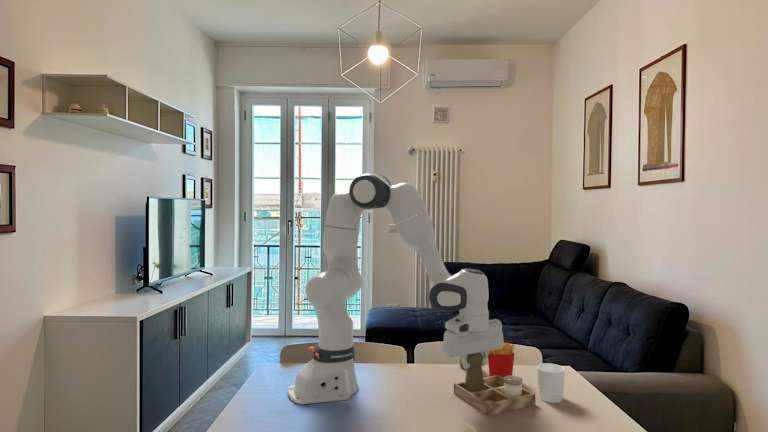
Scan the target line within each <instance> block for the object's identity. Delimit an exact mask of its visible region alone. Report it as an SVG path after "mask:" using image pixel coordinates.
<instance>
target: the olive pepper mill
mask: <svg viewBox="0 0 768 432" xmlns="http://www.w3.org/2000/svg"><path fill="white" fill-rule="evenodd" d="M466 360H467V362H468V363H470V368H469V369H466V372H465V373H466V374H465V381H464V382H465V389H467V390H469V391H482V390H484V389H485V387H484V379H483V378H484V373H483V366H482V365H481V363H482V361H483V355H482V353H481V352H480V353H475V354H469V355H467V358H466Z"/></svg>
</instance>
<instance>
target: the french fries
mask: <svg viewBox="0 0 768 432" xmlns="http://www.w3.org/2000/svg"><path fill="white" fill-rule="evenodd" d="M514 347H515V344H510V342H504V346H503V348H502V349H498V350H492V351H489V355H488V357H487V363H488V371H489V373H488V374H489V377H490V376H496V375H499V376H501V377H503V378H504V377H505V376H510V375H512V376H513V373H514V372H513V371H514V362H515V353H514V350H515V349H514Z"/></svg>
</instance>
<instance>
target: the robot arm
mask: <svg viewBox="0 0 768 432" xmlns="http://www.w3.org/2000/svg"><path fill="white" fill-rule="evenodd" d="M348 190H349V191H338V192H335V193H334V194H333V195H332V196H331V197H330V199H329V203H328V205H327V209H326V215H325V220H324V221H325V222H324V229H323V238H322V251H323V253H324V254H325V257H326V264H327V269H326V270H324V271H321V272H318V273H317V274H315V275H314V276H312V277H311V278H310V279H309V280H308V281H307V283H306V286H305V295H306V296H305V297H306V299H307V301H308V302H309V303H310V304H311V305H312V307H313V308H314V312H315V315H316V318H317V324H318V345H317V346H316V347H314V346H309V348H308V349H307V350H308V352H309V353H310V354H312V359H310V361H308V362H307V363H306V364H305V365H303V366H302V367H301V368H300V369H299V370H298V371H297V372H296V375H295V379H294V384H292V385H290V386H289V387H288V388H287V396H288V397H289V399H290V400H291V401H292V402H293V403H296V404H298V405H307V404H318V403H327V402H328V403H329V402H337V401H347V400H349V399H350V398H351V396H353V395H354V394H355V393H357V392H358V390H359V384H358V380H357V375H356V371H355V370H356V369H355V359H356V349H355V344H354V322H353V319H352V317H350V315H349V312H348V309H347V300H349V299H352V298H353V297H354V296H355V295H357V294H358V293H359V291H360V290H361V288H362V286H363V277H362V273H361V272H360V271H359V264H358V263H359V262H358V245H359V234H360V226H361V225H360V224H361V217H362V214H363V212H364V211H365V210H374V209H382V208H384V209H386V210H387V211H388V213H389V215H390V216H391V219H392V222H393V223H394V225H395V228H396V231H398V232H397V233H398V234H399V235H400V237H401V239H402V240H403V242H404V243H405V245H407V246H408V247H410V248H412V249H413V250H414V252H416V254H418V256H419V258H420V260H421V263H422V264H423V267H424V270H425V271H426V273H427V276H428V279H429V292H428V301H429V303H430V305H431V307H432V308H433V309H435V310H436V311H438V312H441V313H449V312H457V311H459V314H458V315H456V316H454V317H453V318H451V319H449V320H447V321H445V323H444V327H445V329H447V330H445V331H444V333H443V340H442V341H443V342H442V350H443V353H444V355H445V356H448V357H449V358H456V357H459V356H460V358H461V360H462V362H463V368H462V369H465V370H467V369H469V368H470V363H468V362H467V360H466V358H467V355H469V354H475V353H482V355H483V361H482V363H481V365H482V367H484V366H486V363H487V360H488V355H489V351H492V350H498V349H502V348H503V346H504V345H505V342H504V332H503V324H502V321H501V320H500V319H498V318H494V319H490V318H489V317H490V316H489V315H490V311H489V309H488V308H489V306H488V303H489V293H490V292H489V282H488V277H487V275H486V274H485V273H484V271H481V270H479V269H474V268H470V267H469V268H467V267H466V268H462V269H461V270H460V271H458V272H457V273H454V274H452V273H450V272H449V270H448V269H447V267H446V264H445V263H444V260H443V258H442V256H441V254H440V251H439V249H438V247H437V242H436V236H435V235H436V234H435V229H434V225H433V222H432V217H431V215H430V213H429V210H428V208H427V206H426V203H425V202H424V200H423V198H422V196H421V195H420V193H419V192H418V190H417V189H416V187H415V186H414V185H413V184H412V183H409V182H401V183H396V184H394V185H392V184H391V182H390V181H389V179H388V178H387V177H385V176H383V175H382V174H379V173H375V172H374V173H373V172H369V173H362V174H360V175H358V176H356V177H354V179H353V180H352V181H351V184H350V185H349V189H348Z"/></svg>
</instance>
